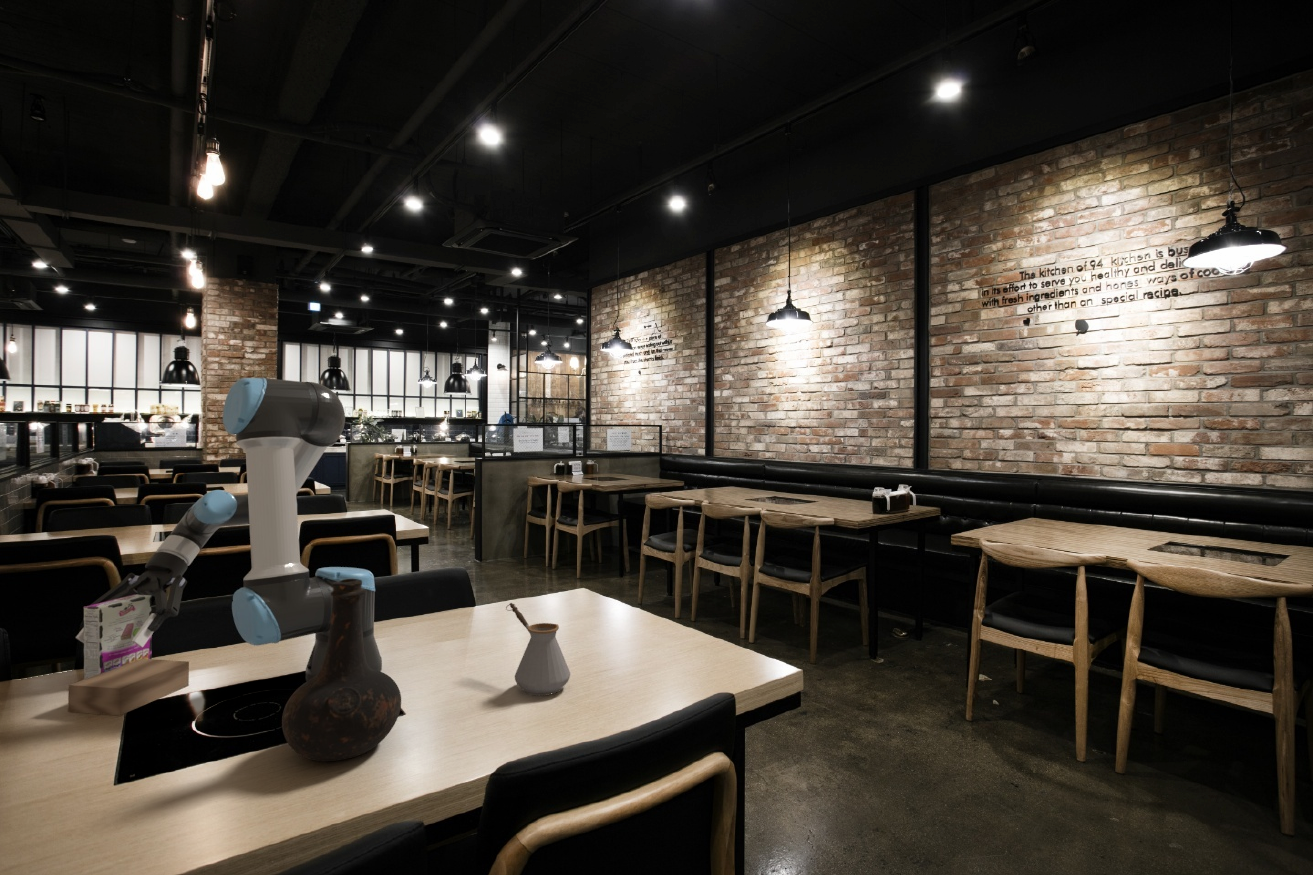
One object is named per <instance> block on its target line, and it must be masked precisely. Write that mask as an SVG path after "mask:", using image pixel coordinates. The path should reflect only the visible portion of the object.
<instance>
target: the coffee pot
mask: <svg viewBox="0 0 1313 875" xmlns="http://www.w3.org/2000/svg"><path fill="white" fill-rule="evenodd" d="M509 606H510V608H511V609H507V608H508V607H509ZM505 610H506V611H507V612H509V611H512V612H513V613H515V616H516V618H517V619H518V620H519V621H520V623H521V624H522V625H523V627H524V628H526V630H527V631H528V633H529V634H530V639H529V641H528V643H527V646H526V648H525V650H524V653H523V655H522V657H521V660H520V662H519V664H518V667H517V669H516V672H515V675H514V681H515V683H516V685H518V687H519V688H520V689H521V690H523V692H524V693H526V694H527V693H528V694H527V695H530V694H531V695H530V696H535V695H536V696H537V695H538V697H539V696H540V695H541V696H542V697H543V695H544V696H549V695H548V694H551V693H554V694H556V692H557V693H559V692H560V691H561V690H562V688H563V687H565V686H566V684H567V683H568V682H569V680H570V678H571V671H570V669H569V666H568V663H567V662H566V659H565V657H564V654H563V652H562V649H561V647H560V645H559V642H558V640H557V637H556V636H557V631H559V629H560V627H559V624H557V623H552V622H551V623H549V622H542V623H534V624H531V625H529V623H528V622H527V620H526V618H525V616H524V615H523V613H522V612H520V611H519V610H518V607H517V606H516V604H514V603H512V602H509V604H507V606H506V607H505ZM560 689H561V690H560ZM559 690H560V691H559ZM551 695H552V694H551ZM541 696H540V697H541Z"/></svg>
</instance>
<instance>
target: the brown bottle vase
mask: <svg viewBox="0 0 1313 875" xmlns="http://www.w3.org/2000/svg"><path fill="white" fill-rule="evenodd" d="M361 586H362V580H359V579H344V580H341V581H338V582H334V583H333V591H332V593H331V596H333V606H332V615H331V625H330V632H329V638H328V644H327V649H326V654H325V657H324V661H323V664H322V666H321V669H320V671H319V672H318V674H317V675H316V676H315V677H313V678H312V679H310V680H309V681H306V682H304V683H303V684H302V685H300V686H299V687H298V688H297V689H296V690H295V691H293V693H292V694H291V695H290V697H289V698H288V700H287V702H286V704H285V706H284V708H283V712H282V716H281V727H282V732H283V736H284V739H285V741H286V743H287V744H288V746H289V747H291V749H292V750H293V751H294V752H295V753H296V754H298V755H299V756H301V757H303V758H305V759H308V760H312V761H317V762H335V761H341V760H348V759H352V758H355V757H358V756H360V755H363V754H365V753H368V752H369V751H371V750H373V749H374V748H375V747H377V746H378V745H379V744H380V743H381V742H383V740H385V738H386V737H387V736H388V735H389V734H390V733H391V730H392V729H393V727H394V726H395V725H396V722H397V721H398V717H399V715H400V713H401V707H402V694H401V690H400V688H399V686H398V684H397V683H396V681H395V680H394V679H393V678H392V677H391V676H390V675H388V674H386V673H385V672H382V670H381V671H378V670H375V669H371V668H369V666H368V665H367V662H366V658H365V653H364V645H363V633H362V610H361V595H363V594H365V593H366V592H367V590H366V589H364V588H361Z"/></svg>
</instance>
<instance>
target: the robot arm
mask: <svg viewBox="0 0 1313 875" xmlns="http://www.w3.org/2000/svg"><path fill="white" fill-rule="evenodd" d="M222 423H223V424H222V425H223V426H224V430H225V431H226V432H227V433H228V434H230V435H234V436H235V437H236V438H235V441H236V442H235V443H236V445H237V446H239V447H240V448H241V449H242V450H243V451H244V452H245V459H246V460H245V463H246V464H245V465H246V480H247V482H246V483H247V484H246V485H247V486H246V487H247V493H246V494H232V493H230V492H227V491H225V490H221V489H215V490H211V491H209V492H207V493H205V494H204V495H203V496H202V497H200V498H199V499H198V500H197V501H196V502H195V503H193V504H192V506H190V507H189V508H188V510H187V511H186V512H185V514H184V515H183V516H182V518H181V519H180V520H179V522H178V523H177V524H176V525H175V527H174V528H173V529H172V531H171V533H169V534H168V536H167V537H166V538H165V539H164V540H163V542H161V544H160V545H159V547H158V548H157V549H156V552H155V553H153V555H151V557H150V558H149V560H148V561H147V562H146V563H145V566H144V572H143V573H141V574H140V575H136V574H134V573H133V572H130V573H128V574H127V576H125V577H124V579H123V580H121V581H120V582H119V583H117V584H116V585H114V586H113V587H112V588H111V589H109V590H108V591H107V592H105V593H104V594H102V595H101V596H100V597H99V598H97V599H95V601H93V602H92V603H90V605H94V604H98V603H102V602H106V601H110V600H114V599H118V598H123V597H127V596H131V595H136V594H139V595H151V597H154V601H155V610H154V612H155V613H152V612H151V615H150V616H149V618H148V619H147V620H146V622H145V623H144V624H143V626H142V627H141V629H140V630H139V631H138V633H137V634H136V635H135V637H134V638H133V639H132V642H134V643H135V644H136V645H138V646H139V647H143V646H144V645H145V644H146V642H147V641H148V639H149V638H150V637H152V636H151V635H153V633H154V632H157V631H158V630H159V628H161V625H162V624H163V623H164V621H165V620H167V619H169V617H170V618H171V617H172V618H176V617H177V616H178V615H179V612H180V606H181V602H182V598H183V592H184V589H185V587H186V586H187V584H188V581H187V580H186V578H185V577H183V575H184V574H185V572H186V571H187V569H188V566H190V565H191V564H192V563H193V561H194V559H196V557H197V555H198V554H199V553H200V552H201V550H202V549H203V547H204V546H205V545H206V544H207V542H208V541H209V539H210V538H211V537H212V536H213V535H214V534H215V532H216V531H218V529H220V528H221V527H222V528H224V527H234V526H235V527H236V526H245V525H246V526H247V525H248V526H249V537H250V538H249V540H250V541H249V542H250V559H251V560H250V561H251V569H250V571H248V573H247V574H246V575H245V576H244V577H243V587H239V589H237V590H236V591H234V593H233V595H232V600H233V601H231V610H232V611H231V612H232V616H233V621H234V624H235V628H236V630H237V631H238V633H239V635H240V636H241V638H242V639H243V641H245V642H246V643H247V644H249V645H250V646H251V645H252V646H257V647H258V646H263V645H268V644H278V643H279V642H283V641H286V640H291V639H296V638H301V637H306V636H309V635H314V634H315V640H314V645H313V646H312V647H313V648H312V650H311V653H310V656H309V659H308V662H307V664H306V667H305V681H306V682H307V681H309V680H310V679H312V678H313V677H315V676H316V675H317V674H318V672H319V671H320V669H321V666H322V664H323V661H324V657H325V654H326V649H327V644H328V638H329V632H330V625H331V615H332V606H333V596H331V593H332V591H333V583H334V582H338V581H341V580H344V579H359V580H362V586H361V588H364V589H366V590H367V592H366V593H365V594H363V595H361V610H362V633H363V645H364V653H365V658H366V662H367V665H368V666H369V668H371V669H375V670H378V671H381V672H382V668H383V659H382V656H381V653H380V650H379V646H378V644H377V640H376V638H375V633H374V632H375V630H374V629H375V628H374V626H375V621H374V620H375V592H376V585H375V576H374V574H373V573H372V572H371V571H370V570H368V569H365V568H359V567H358V568H357V567H350V566H349V567H347V566H345V567H344V566H342V567H341V566H329V567H321V568H318V569H316V571H315V576H313V577H310V570H309V568H307V567H306V566H304V565H303V564H302V562H301V556H300V555H301V554H300V538H299V536H300V535H299V521H298V501H297V495H298V492H299V491H300V490H301V488H302V486H303V485H304V484H305V482H306V480H307V479H308V477H309V476H310V474H311V472H312V471H313V470H314V468H315V466H317V464H318V462H319V460H320V459H321V457H322V456H323V454H324V453H325V451H326V449H327V448H328V447H331V446H334V444H336V442H337V441H338V440H339V438H340V437H341V435H342V433H343V431H344V428H345V424H346V412H345V408H344V406H343V403H342V401H341V400H340V398H339V397H338V395H336V393H335V392H334V391H333V390H332V389H331V388H329V387H327V386H325V385H324V384H321V383H317V382H313V381H297V380H289V379H288V380H287V379H279V378H278V379H275V378H266V377H257V378H256V377H254V378H253V377H242V378H239V379H238V380H236V381H235V382H234V383H233V384H232V385H231V387H230V389H229V390H228V392H227V395H226V398H225V400H224V404H223V410H222ZM169 588H170V589H169ZM168 589H169V592H168ZM75 639H76V640H78V641H79V642H81V643H82V644H84V627H82V629H81V630H80V631H79V633H78V634H77V635H76V636H75Z"/></svg>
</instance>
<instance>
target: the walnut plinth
mask: <svg viewBox="0 0 1313 875" xmlns="http://www.w3.org/2000/svg"><path fill="white" fill-rule="evenodd" d="M189 675H190V661H186V660H185V661H184V660H170V659H169V660H167V659H155V658H154V659H140V660H137V661H135V662H132V663H129V664H126V665H123V666H121V667H118V668H115V669H112V670H109V671H107V672H104V673H101V674H98V675H95V676H93V677H90V678H87V679H84V678H83V679H82V680H79V681H77V682H73V683H71V684H68V694H67V696H68V697H67V698H68V700H67V701H68V705H67V712H69V713H81V714H92V715H93V714H95V715H105V714H106V715H107V716H122V715H125V714H126V713H128V712H132V711H134V710H135V709H138V708H140V707H143V706H145V705H147V704H150V703H151V702H154V701H157V700H159V699H161V698H163V697H166V696H168V695H171V694H173V693H175V692H177V691H179V690H181V689H184V688H186V687H189V685H190V684H189V683H190V681H189V680H190V678H189Z"/></svg>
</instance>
